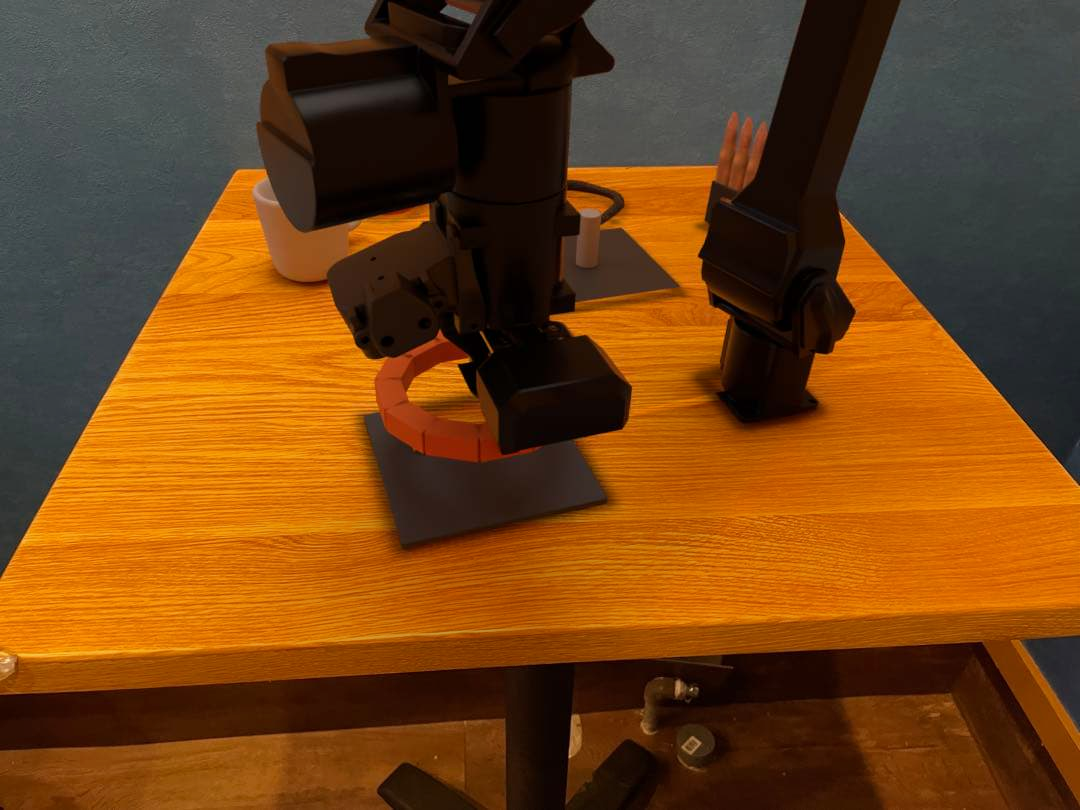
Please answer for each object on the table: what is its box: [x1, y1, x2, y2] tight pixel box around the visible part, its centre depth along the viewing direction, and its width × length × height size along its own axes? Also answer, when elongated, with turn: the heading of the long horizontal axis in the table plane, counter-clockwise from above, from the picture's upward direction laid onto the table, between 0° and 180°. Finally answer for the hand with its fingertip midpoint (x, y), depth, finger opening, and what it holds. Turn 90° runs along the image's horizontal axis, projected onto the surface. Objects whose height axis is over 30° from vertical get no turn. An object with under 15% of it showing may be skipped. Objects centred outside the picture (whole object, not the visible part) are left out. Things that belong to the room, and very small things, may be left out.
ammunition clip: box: [703, 110, 768, 224], centre depth 79 cm, size 11×2×12 cm, turn 37°
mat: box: [363, 411, 609, 550], centre depth 54 cm, size 13×13×1 cm
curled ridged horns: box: [567, 178, 625, 226], centre depth 85 cm, size 13×5×10 cm
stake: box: [562, 208, 682, 304], centre depth 75 cm, size 13×13×6 cm
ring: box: [373, 330, 541, 462], centre depth 51 cm, size 12×12×2 cm
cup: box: [251, 176, 363, 283], centre depth 74 cm, size 11×8×8 cm
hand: (504, 441), depth 47 cm, fingers closed on ring, 2 cm apart
